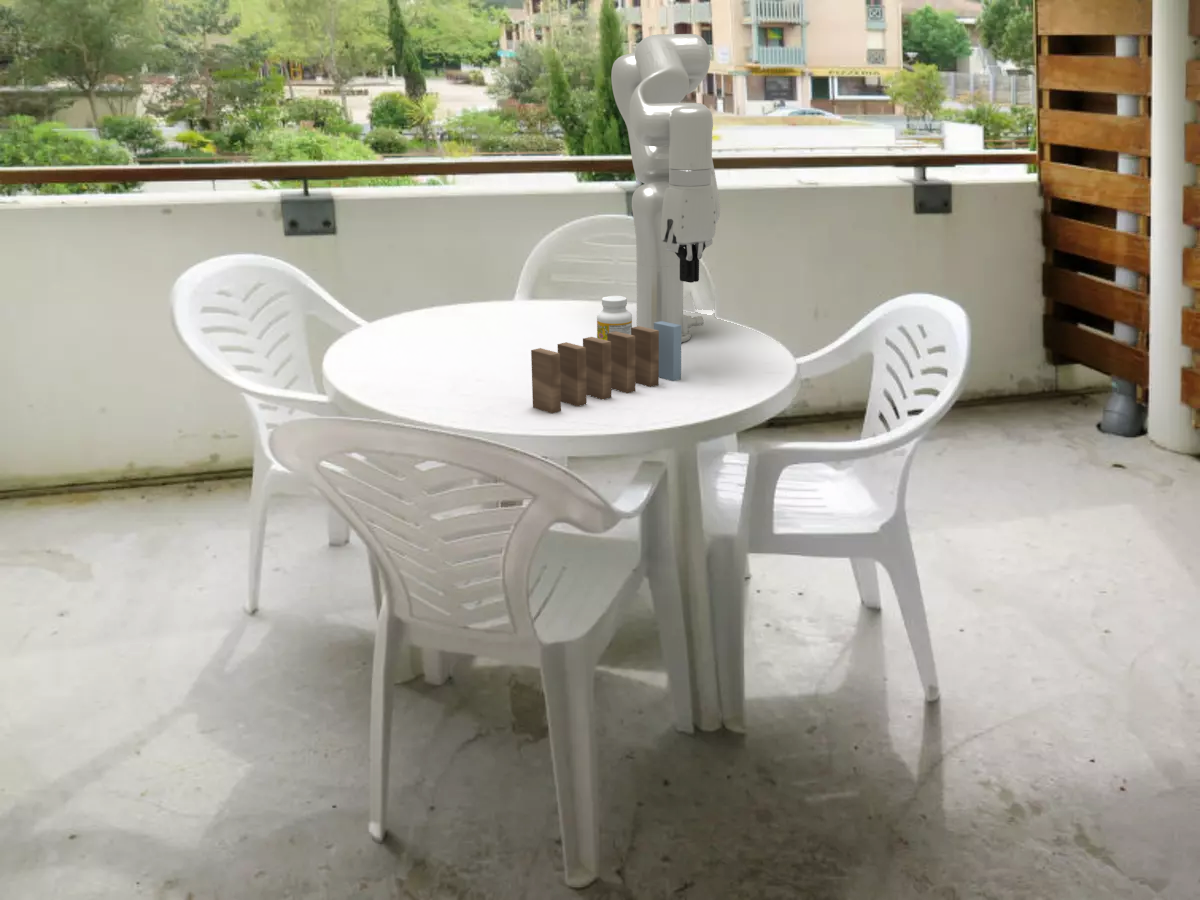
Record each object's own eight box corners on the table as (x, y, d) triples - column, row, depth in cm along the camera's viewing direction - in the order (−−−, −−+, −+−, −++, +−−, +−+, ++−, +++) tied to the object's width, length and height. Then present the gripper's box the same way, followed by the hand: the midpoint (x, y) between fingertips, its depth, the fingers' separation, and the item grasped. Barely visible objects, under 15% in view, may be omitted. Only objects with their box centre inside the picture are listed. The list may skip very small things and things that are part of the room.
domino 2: (567, 398, 225) (566, 342, 222) (586, 404, 222) (585, 347, 218) (558, 400, 224) (557, 344, 221) (577, 406, 220) (576, 349, 217)
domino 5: (639, 379, 236) (639, 326, 233) (658, 384, 233) (658, 330, 230) (631, 381, 235) (631, 327, 232) (650, 387, 231) (650, 332, 228)
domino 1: (541, 405, 221) (540, 348, 218) (560, 410, 218) (559, 353, 215) (532, 407, 220) (531, 350, 217) (551, 413, 217) (550, 355, 214)
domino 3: (592, 391, 229) (591, 336, 226) (611, 397, 225) (610, 341, 222) (583, 394, 228) (582, 338, 224) (602, 399, 224) (602, 343, 221)
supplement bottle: (595, 360, 250) (595, 295, 246) (630, 359, 250) (629, 293, 246) (599, 369, 243) (598, 302, 239) (634, 368, 244) (633, 301, 240)
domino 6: (661, 374, 240) (661, 321, 237) (681, 378, 236) (681, 325, 233) (653, 375, 239) (653, 322, 235) (673, 381, 235) (673, 327, 232)
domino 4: (616, 385, 233) (615, 331, 229) (635, 391, 229) (635, 335, 226) (607, 387, 231) (607, 333, 228) (627, 393, 228) (626, 337, 225)
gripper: (703, 173, 237) (702, 273, 243) (645, 180, 228) (645, 284, 234) (734, 176, 232) (732, 278, 238) (675, 184, 222) (675, 289, 228)
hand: (689, 280), depth 236 cm, fingers closed
